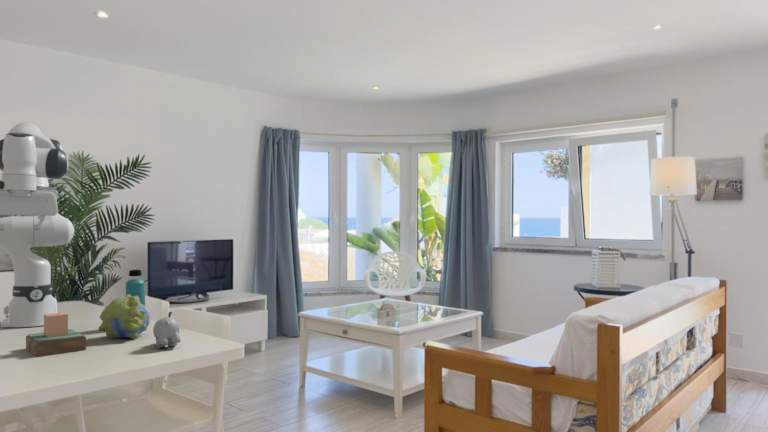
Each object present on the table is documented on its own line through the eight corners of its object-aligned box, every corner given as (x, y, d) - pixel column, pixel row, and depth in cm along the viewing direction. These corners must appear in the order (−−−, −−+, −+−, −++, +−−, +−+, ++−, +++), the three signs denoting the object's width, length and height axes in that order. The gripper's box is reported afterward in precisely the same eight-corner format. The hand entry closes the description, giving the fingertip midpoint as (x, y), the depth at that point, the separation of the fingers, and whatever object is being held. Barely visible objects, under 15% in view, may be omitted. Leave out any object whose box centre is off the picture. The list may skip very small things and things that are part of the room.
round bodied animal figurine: (173, 351, 165) (171, 323, 168) (183, 342, 156) (181, 313, 159) (148, 353, 161) (146, 325, 164) (157, 345, 152) (155, 315, 155)
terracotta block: (43, 335, 157) (43, 314, 157) (63, 332, 160) (63, 312, 160) (47, 337, 153) (48, 316, 153) (67, 335, 156) (68, 314, 157)
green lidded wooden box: (25, 348, 157) (26, 334, 157) (72, 342, 166) (72, 328, 166) (37, 356, 147) (37, 341, 147) (85, 349, 156) (85, 335, 156)
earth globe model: (146, 285, 181) (96, 290, 172) (155, 305, 168) (101, 311, 160) (146, 323, 184) (96, 330, 176) (154, 346, 171) (101, 354, 163)
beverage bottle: (140, 328, 188) (140, 270, 188) (121, 328, 188) (121, 270, 188) (148, 324, 194) (149, 268, 195) (130, 324, 194) (130, 268, 195)
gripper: (55, 187, 176) (55, 230, 175) (-23, 184, 162) (-24, 230, 161) (60, 186, 171) (60, 230, 171) (-20, 183, 157) (-20, 230, 157)
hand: (19, 230), depth 166 cm, fingers open, 8 cm apart
